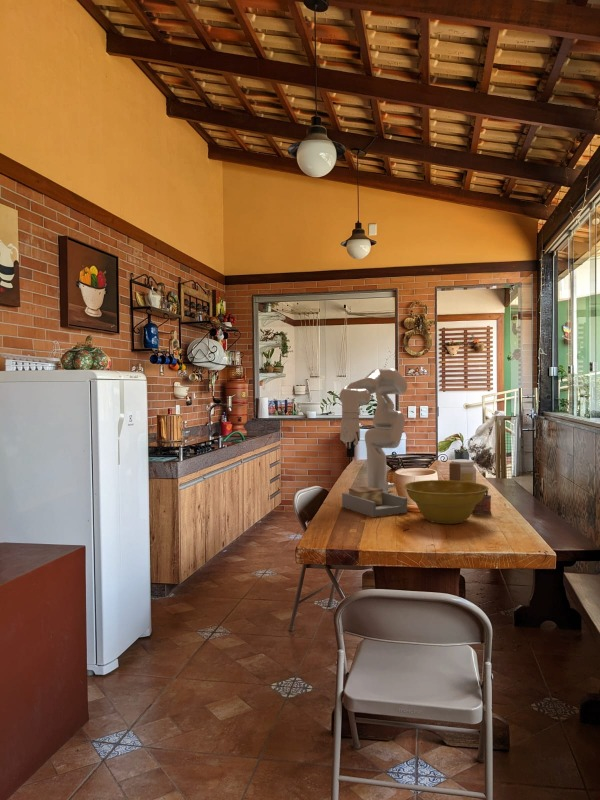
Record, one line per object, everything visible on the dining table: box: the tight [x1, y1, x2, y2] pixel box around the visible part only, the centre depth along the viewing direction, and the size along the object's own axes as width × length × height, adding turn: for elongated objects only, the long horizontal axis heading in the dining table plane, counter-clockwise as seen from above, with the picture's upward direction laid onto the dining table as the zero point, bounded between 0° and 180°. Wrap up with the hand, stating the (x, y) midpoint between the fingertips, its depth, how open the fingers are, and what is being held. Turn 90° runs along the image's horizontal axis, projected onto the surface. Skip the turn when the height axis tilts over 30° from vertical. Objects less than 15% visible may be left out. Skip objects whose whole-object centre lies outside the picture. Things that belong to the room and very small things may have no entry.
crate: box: [348, 485, 383, 505], centre depth 247 cm, size 11×9×6 cm
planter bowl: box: [403, 479, 489, 525], centre depth 222 cm, size 32×32×13 cm
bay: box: [341, 492, 408, 518], centre depth 242 cm, size 17×23×6 cm
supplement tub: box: [450, 458, 477, 483], centre depth 270 cm, size 12×12×17 cm
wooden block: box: [448, 462, 461, 481], centre depth 252 cm, size 9×4×18 cm, turn 70°
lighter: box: [471, 489, 492, 515], centre depth 233 cm, size 8×3×10 cm, turn 65°
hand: (350, 457), depth 257 cm, fingers closed
